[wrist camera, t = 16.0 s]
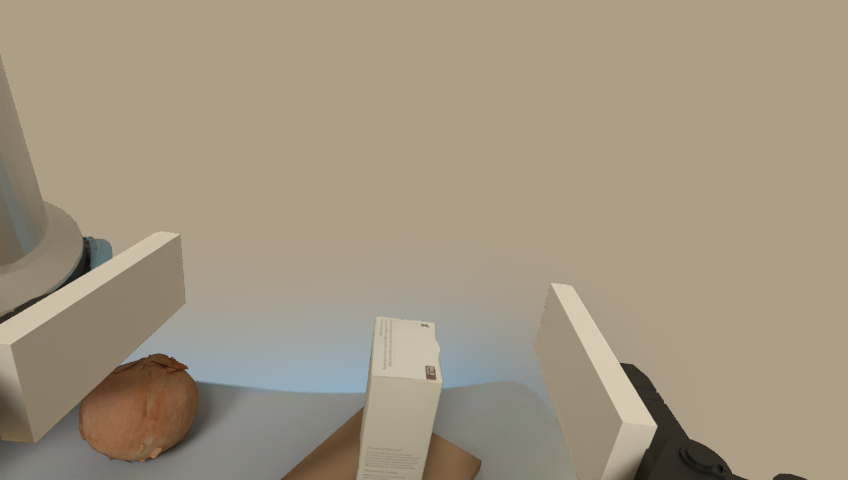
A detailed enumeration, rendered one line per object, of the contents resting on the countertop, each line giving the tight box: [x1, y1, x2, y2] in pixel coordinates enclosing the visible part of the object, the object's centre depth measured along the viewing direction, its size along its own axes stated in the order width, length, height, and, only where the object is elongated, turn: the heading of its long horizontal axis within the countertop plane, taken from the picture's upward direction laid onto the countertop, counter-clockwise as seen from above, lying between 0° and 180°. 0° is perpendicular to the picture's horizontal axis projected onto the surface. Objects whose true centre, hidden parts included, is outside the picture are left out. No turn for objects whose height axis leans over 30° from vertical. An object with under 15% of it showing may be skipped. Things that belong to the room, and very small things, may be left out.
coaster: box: [281, 407, 482, 480], centre depth 43 cm, size 14×14×1 cm
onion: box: [79, 354, 198, 463], centre depth 42 cm, size 10×9×10 cm
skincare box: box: [356, 317, 443, 480], centre depth 40 cm, size 8×6×15 cm
